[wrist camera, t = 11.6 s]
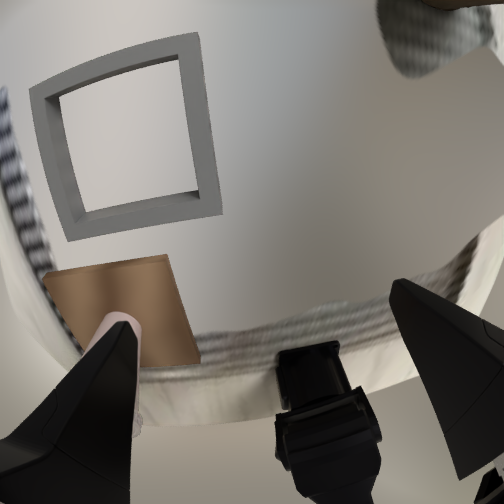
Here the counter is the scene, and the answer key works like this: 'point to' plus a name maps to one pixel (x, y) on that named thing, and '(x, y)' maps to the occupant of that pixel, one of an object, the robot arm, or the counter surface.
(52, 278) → the walnut coaster
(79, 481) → the robot arm
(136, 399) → the smoothie
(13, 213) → the counter surface
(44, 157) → the frame
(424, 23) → the counter surface
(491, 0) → the pillar candle
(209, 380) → the counter surface
